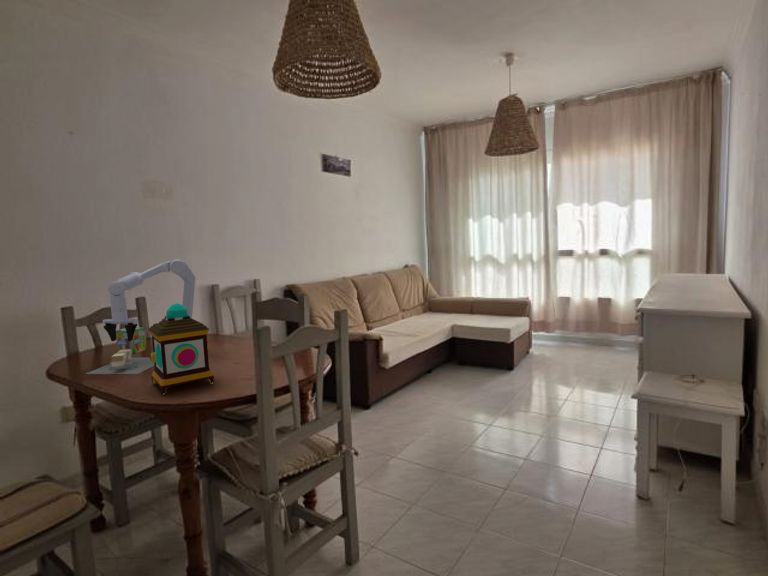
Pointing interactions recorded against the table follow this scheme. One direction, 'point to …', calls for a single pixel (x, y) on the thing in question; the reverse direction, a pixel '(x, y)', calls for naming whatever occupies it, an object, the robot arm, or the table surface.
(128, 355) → the beam
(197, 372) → the decorative lantern
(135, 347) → the chalk box
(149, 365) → the mat
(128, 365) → the fulcrum
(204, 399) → the table surface
